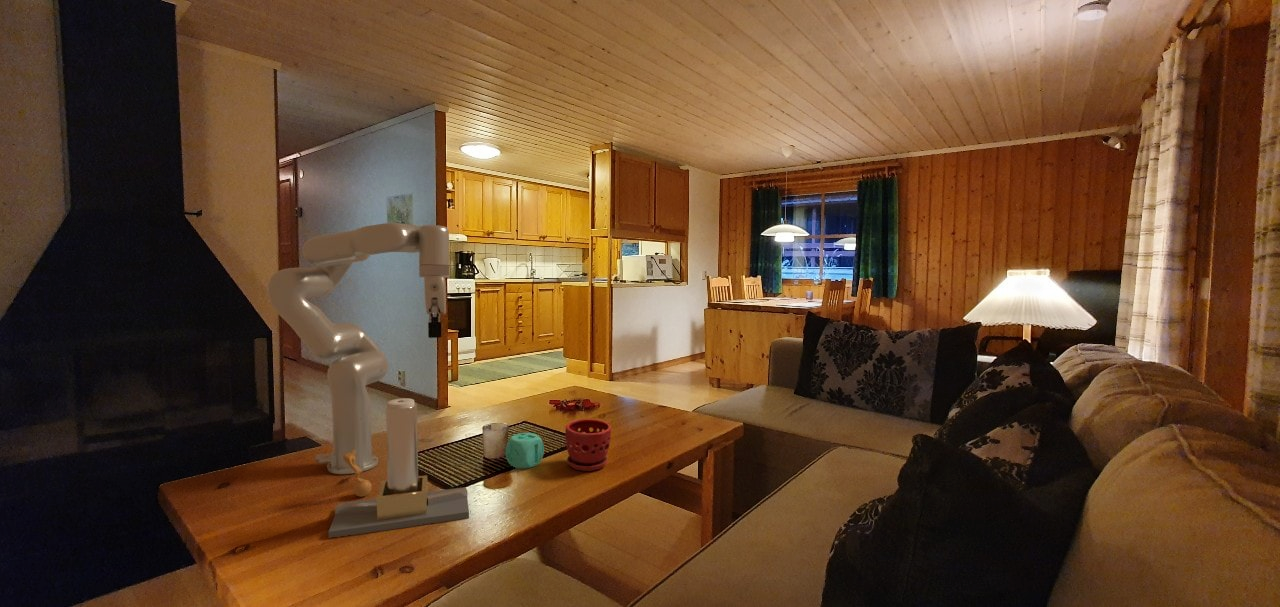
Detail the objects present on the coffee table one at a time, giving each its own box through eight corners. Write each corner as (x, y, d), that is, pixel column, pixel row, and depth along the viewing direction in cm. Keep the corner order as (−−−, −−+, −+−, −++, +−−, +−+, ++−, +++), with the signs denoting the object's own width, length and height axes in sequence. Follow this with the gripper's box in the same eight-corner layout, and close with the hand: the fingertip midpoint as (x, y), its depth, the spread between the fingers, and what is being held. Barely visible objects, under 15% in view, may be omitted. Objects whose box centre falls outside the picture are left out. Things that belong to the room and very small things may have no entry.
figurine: (374, 500, 129) (373, 452, 128) (346, 506, 125) (345, 456, 124) (369, 487, 136) (368, 442, 135) (342, 493, 132) (341, 446, 131)
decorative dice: (526, 471, 148) (526, 443, 148) (504, 465, 152) (504, 438, 152) (544, 462, 155) (544, 435, 155) (523, 456, 159) (523, 430, 159)
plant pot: (556, 470, 150) (556, 428, 149) (579, 454, 162) (579, 416, 161) (598, 477, 145) (598, 435, 144) (617, 461, 157) (618, 421, 156)
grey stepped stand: (329, 527, 112) (329, 504, 112) (338, 506, 122) (337, 485, 121) (468, 507, 122) (468, 486, 122) (466, 490, 132) (466, 470, 131)
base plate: (328, 538, 111) (328, 531, 111) (340, 509, 124) (340, 503, 124) (468, 518, 121) (468, 511, 121) (466, 492, 134) (465, 487, 134)
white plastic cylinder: (407, 514, 118) (405, 405, 117) (381, 511, 120) (379, 403, 118) (424, 502, 125) (423, 398, 123) (400, 499, 126) (398, 396, 124)
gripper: (449, 272, 135) (450, 339, 136) (448, 271, 151) (449, 330, 153) (418, 272, 133) (419, 340, 134) (420, 270, 149) (421, 331, 150)
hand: (435, 335), depth 143 cm, fingers open, 9 cm apart
